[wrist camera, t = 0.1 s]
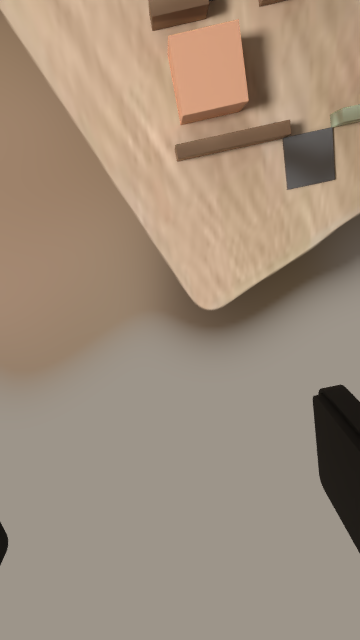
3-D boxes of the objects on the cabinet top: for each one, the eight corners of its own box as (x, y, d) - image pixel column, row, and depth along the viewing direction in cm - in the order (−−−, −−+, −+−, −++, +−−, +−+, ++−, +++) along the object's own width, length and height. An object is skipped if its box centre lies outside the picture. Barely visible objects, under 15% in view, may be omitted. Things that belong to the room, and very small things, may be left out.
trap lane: (136, -56, 30) (134, -78, 27) (389, -115, 29) (409, -143, 27) (186, 211, 37) (188, 211, 34) (389, 167, 36) (405, 165, 34)
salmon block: (167, 55, 32) (168, 35, 29) (229, 40, 32) (238, 19, 28) (180, 125, 34) (182, 115, 31) (239, 112, 34) (248, 100, 30)
